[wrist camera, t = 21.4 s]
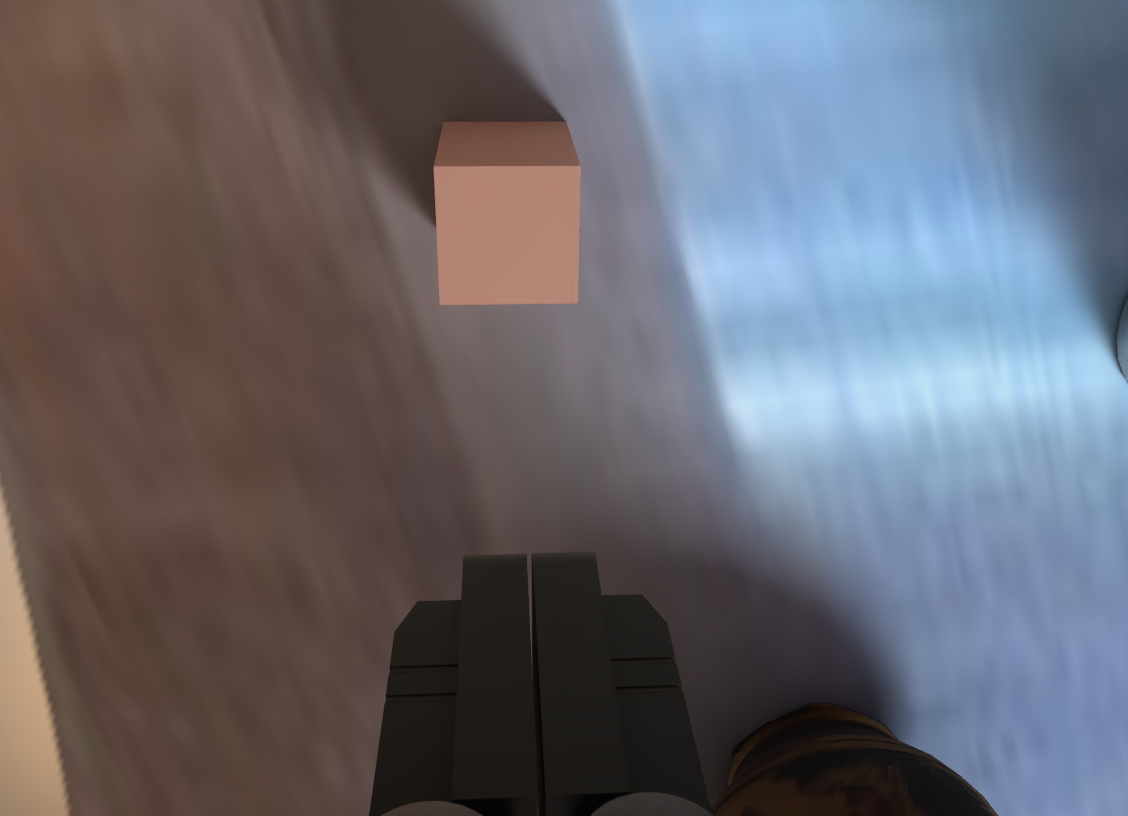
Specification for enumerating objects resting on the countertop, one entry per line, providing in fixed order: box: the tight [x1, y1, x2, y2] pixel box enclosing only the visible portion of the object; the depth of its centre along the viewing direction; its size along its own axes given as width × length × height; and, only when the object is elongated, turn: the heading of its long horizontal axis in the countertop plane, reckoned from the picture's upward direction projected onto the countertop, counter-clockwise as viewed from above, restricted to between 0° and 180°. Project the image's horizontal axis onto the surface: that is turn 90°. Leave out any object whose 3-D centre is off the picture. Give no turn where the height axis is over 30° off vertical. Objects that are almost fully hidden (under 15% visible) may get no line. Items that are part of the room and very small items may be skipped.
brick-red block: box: [434, 121, 581, 305], centre depth 36 cm, size 4×4×7 cm
